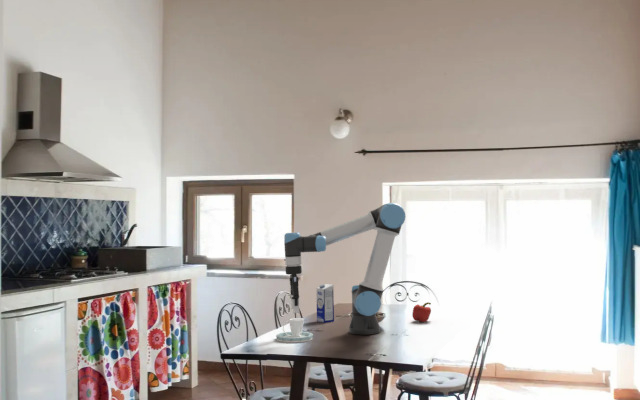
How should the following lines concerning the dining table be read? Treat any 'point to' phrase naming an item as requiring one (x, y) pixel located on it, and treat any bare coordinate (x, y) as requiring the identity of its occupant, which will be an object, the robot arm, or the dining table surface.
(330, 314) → the milk carton
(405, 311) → the dining table surface
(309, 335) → the saucer
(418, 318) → the vegetable
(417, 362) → the dining table surface
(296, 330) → the cup
